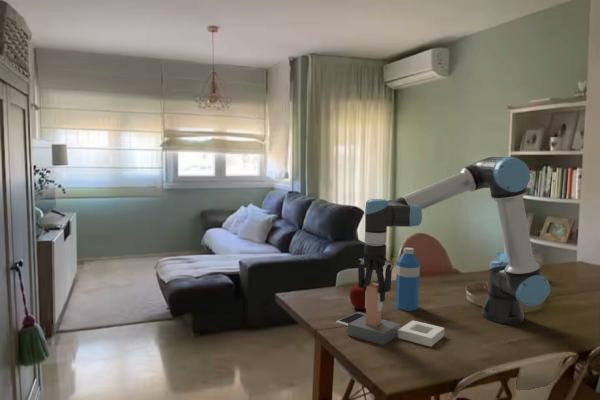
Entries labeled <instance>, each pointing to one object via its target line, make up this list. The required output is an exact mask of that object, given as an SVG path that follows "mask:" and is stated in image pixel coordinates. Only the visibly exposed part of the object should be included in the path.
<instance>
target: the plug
mask: <svg viewBox="0 0 600 400" xmlns="http://www.w3.org/2000/svg"><path fill="white" fill-rule="evenodd" d="M378 292H379V285H378V282H377V283H376V282H370V284H369V285H368V286H367V287H366V309H365V314H366V325H370V326H374V327H377V326H379V325H381V319H382V310H383V309H382V310H380V311H377V293H378Z"/></svg>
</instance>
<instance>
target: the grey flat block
mask: <svg viewBox="0 0 600 400" xmlns="http://www.w3.org/2000/svg"><path fill="white" fill-rule="evenodd" d="M400 326H401V325H400V323H399V322H394V321H390V320H387V319H382V318H381V325H379V326H377V327H374V326H370V325H366V315H364V316H362V317H360V318H358V319H357V320H355V321H353V322H351V323H349V324H348V326H347V336H350V337H353V338H357V339H361V340H363V341H368V342H371V343H374V344H378V345H381V346H384V345H385V344H388V343H389V342H391V341H392V340H394V339H395V338H397V337H398V329H400Z"/></svg>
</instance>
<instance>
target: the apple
mask: <svg viewBox="0 0 600 400" xmlns="http://www.w3.org/2000/svg"><path fill="white" fill-rule="evenodd" d="M363 292H364V290H363V288H362V287H359V284H354V285H353V286H352V287H350V291H349V300H350V303H351V305H352V306H353V308H355V309H358V310H362V311H363V310H365V311H366V308H365V298H364V297H363Z"/></svg>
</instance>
